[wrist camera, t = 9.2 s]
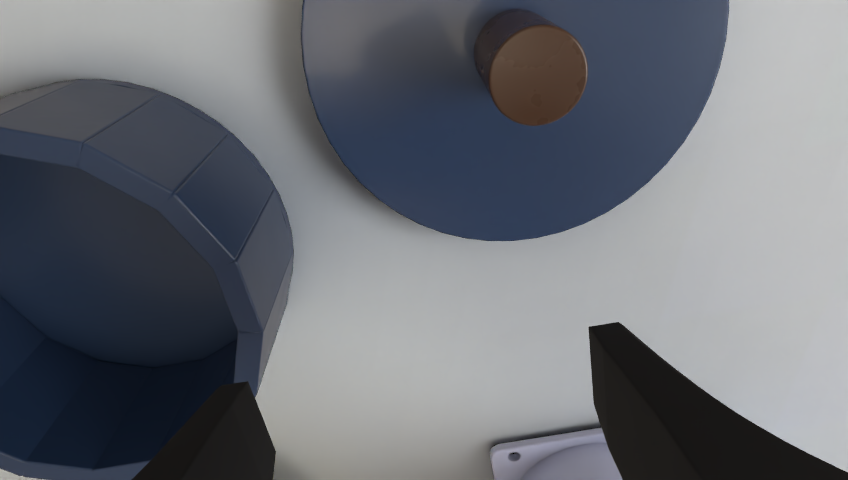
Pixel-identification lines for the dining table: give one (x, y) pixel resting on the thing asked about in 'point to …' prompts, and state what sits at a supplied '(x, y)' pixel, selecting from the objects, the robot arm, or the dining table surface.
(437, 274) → the dining table surface
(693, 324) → the dining table surface
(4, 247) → the pot
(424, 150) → the pot lid
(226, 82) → the dining table surface
